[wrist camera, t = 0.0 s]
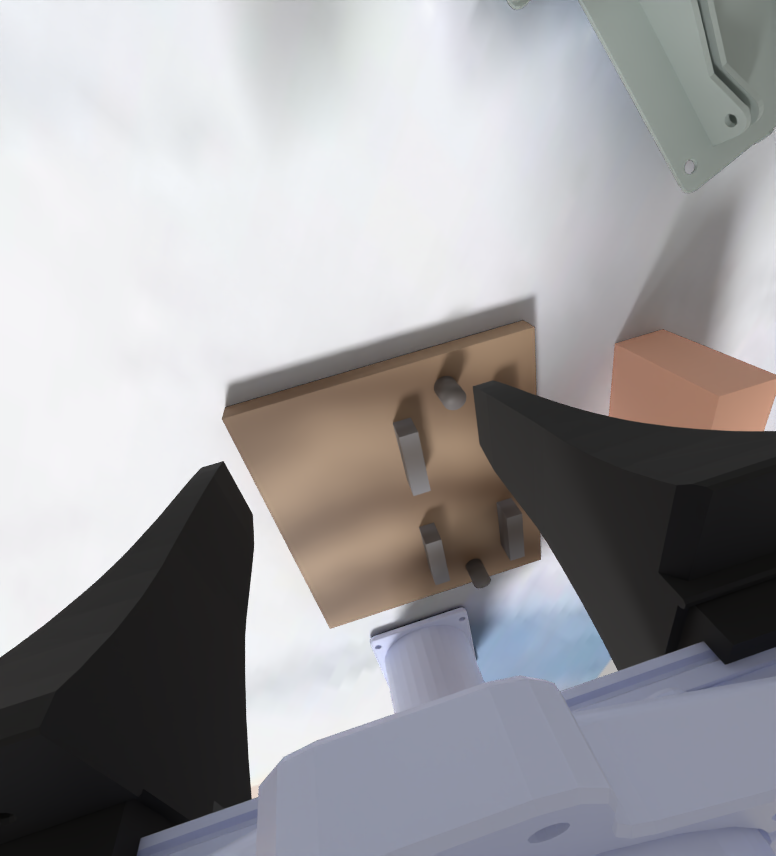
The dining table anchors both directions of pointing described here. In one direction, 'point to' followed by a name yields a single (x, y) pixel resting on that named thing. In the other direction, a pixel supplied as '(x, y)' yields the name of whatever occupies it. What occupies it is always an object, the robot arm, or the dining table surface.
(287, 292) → the dining table surface
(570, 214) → the dining table surface
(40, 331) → the dining table surface
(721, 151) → the grey-green ridged piece
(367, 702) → the dining table surface
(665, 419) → the door panel
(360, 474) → the cabinet side board
